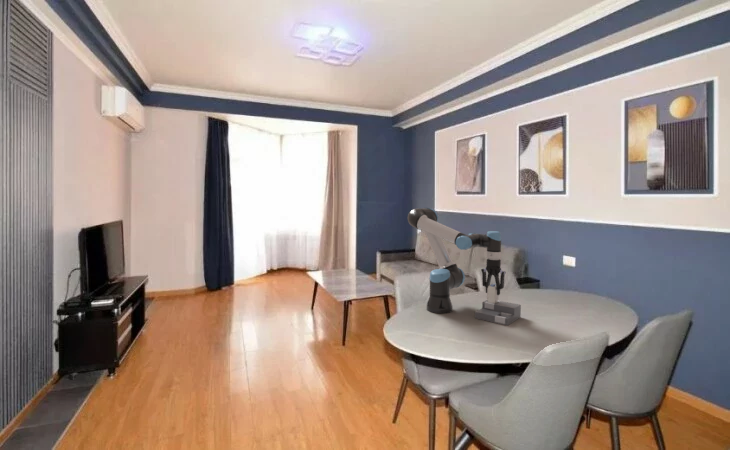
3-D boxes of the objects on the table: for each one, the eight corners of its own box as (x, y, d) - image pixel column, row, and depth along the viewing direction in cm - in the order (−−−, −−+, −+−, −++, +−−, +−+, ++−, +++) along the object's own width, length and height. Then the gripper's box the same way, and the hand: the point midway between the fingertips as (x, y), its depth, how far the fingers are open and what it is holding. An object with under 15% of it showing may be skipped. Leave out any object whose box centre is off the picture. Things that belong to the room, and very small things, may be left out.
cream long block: (487, 306, 212) (488, 284, 211) (490, 305, 215) (491, 283, 214) (494, 308, 209) (494, 285, 208) (497, 306, 212) (497, 284, 211)
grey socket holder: (474, 318, 205) (475, 305, 204) (489, 310, 218) (489, 298, 218) (507, 325, 193) (507, 312, 192) (520, 317, 206) (520, 304, 205)
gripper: (476, 258, 213) (475, 298, 215) (505, 261, 201) (504, 304, 203) (482, 256, 218) (481, 295, 220) (511, 259, 207) (510, 301, 208)
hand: (492, 299), depth 211 cm, fingers closed on cream long block, 4 cm apart
